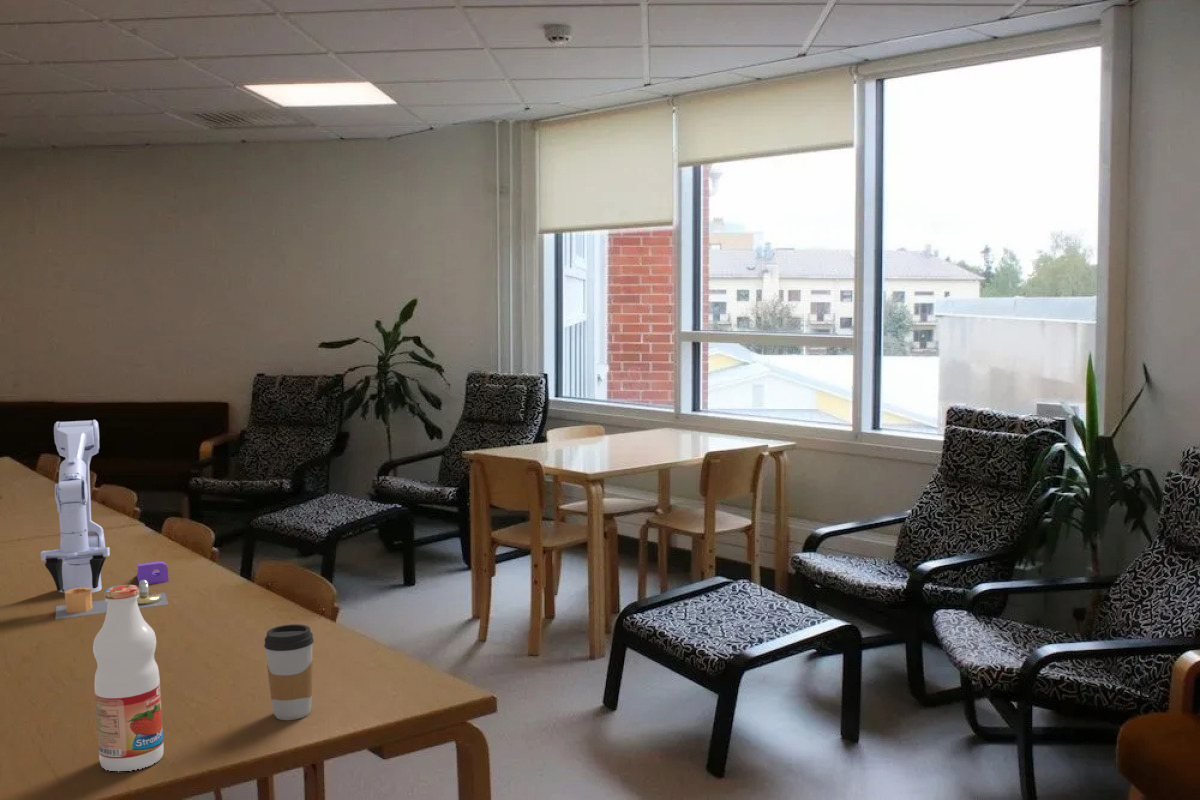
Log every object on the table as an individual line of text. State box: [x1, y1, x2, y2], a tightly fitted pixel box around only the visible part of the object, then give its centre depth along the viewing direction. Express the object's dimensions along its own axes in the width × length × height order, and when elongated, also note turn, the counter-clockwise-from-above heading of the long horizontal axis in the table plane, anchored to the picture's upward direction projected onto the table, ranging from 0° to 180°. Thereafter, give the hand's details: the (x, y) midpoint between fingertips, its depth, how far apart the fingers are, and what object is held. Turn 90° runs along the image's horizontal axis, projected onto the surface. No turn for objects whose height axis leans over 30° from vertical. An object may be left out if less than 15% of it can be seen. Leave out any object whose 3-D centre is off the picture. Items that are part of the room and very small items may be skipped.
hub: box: [137, 580, 161, 605], centre depth 257 cm, size 7×7×5 cm
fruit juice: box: [92, 584, 165, 773], centre depth 169 cm, size 9×9×28 cm
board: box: [55, 592, 169, 620], centre depth 254 cm, size 24×12×5 cm, turn 116°
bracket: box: [136, 561, 169, 585], centre depth 278 cm, size 12×7×7 cm, turn 27°
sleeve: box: [64, 588, 93, 613], centre depth 251 cm, size 5×5×4 cm
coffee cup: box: [263, 623, 314, 721], centre depth 187 cm, size 8×8×15 cm
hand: (77, 588), depth 250 cm, fingers open, 7 cm apart
